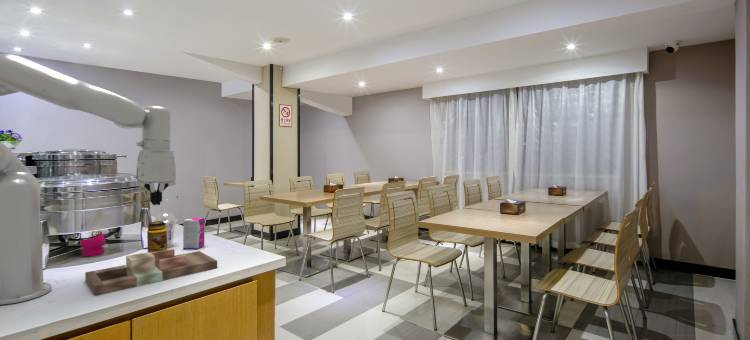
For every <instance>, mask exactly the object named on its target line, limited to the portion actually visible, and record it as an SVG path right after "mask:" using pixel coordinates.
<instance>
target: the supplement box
mask: <svg viewBox="0 0 750 340" xmlns="http://www.w3.org/2000/svg"><path fill="white" fill-rule="evenodd" d="M182 225H183V229H182V230H183V240H182V242H183V243H182V246H183V247H182V249H183V250H194V251H195V250H199V249H201V248H202V247H204V246H205V225H206V223H205V217H188V218H186V219H183V224H182Z"/></svg>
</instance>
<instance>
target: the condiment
mask: <svg viewBox="0 0 750 340" xmlns="http://www.w3.org/2000/svg"><path fill="white" fill-rule="evenodd" d="M147 225H148V227H147V228H148V230H147V235H146V237H147V251H146V252H145V253H147V252H150V253H151V252H156V251H162V250H168V248H167V230H166V228H165V222H163V221H156V222H153V221H150V222H149V223H148V224H147Z"/></svg>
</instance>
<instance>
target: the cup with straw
mask: <svg viewBox="0 0 750 340" xmlns="http://www.w3.org/2000/svg"><path fill="white" fill-rule="evenodd" d="M176 199H179V196H172V197H166V198H164V199H163V211H162V212H160V213H157V215H156V217H155V218H154V220H153V221H152V222H156V221H163V222H165V228H166V230H167V249H168V248H169V249H170V248H172V247H173V243H174V238H175V237H174V235H175V229H176V224H177V223H178V221H179V220H178V218H176V216H175V215H174V213H172V212H170V211H167V207H166V206H167V201H169V200H176Z"/></svg>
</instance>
